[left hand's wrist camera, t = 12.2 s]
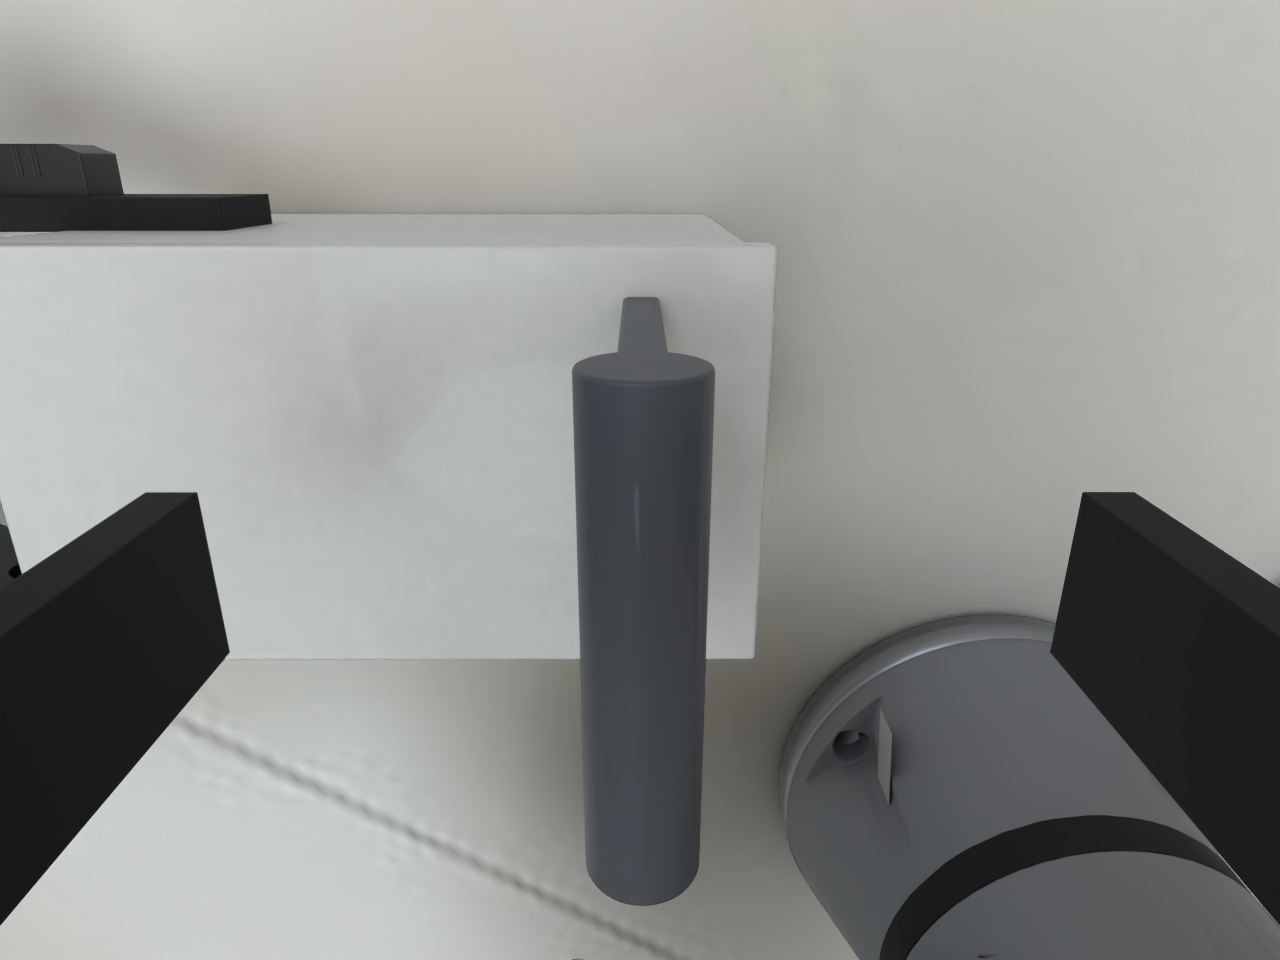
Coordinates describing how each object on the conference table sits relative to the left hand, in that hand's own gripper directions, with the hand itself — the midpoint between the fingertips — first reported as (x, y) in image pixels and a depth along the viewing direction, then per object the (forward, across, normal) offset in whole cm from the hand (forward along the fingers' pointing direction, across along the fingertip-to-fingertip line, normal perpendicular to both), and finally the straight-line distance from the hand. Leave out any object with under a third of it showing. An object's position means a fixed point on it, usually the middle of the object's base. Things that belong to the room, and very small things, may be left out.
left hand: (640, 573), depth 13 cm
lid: (+6, -5, 0) cm, 8 cm away
